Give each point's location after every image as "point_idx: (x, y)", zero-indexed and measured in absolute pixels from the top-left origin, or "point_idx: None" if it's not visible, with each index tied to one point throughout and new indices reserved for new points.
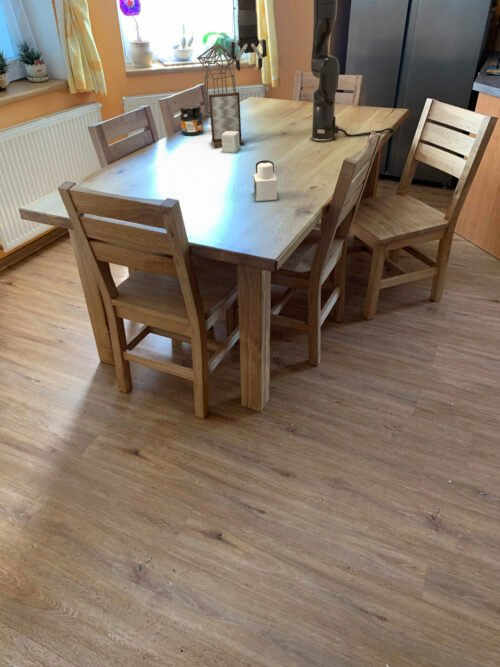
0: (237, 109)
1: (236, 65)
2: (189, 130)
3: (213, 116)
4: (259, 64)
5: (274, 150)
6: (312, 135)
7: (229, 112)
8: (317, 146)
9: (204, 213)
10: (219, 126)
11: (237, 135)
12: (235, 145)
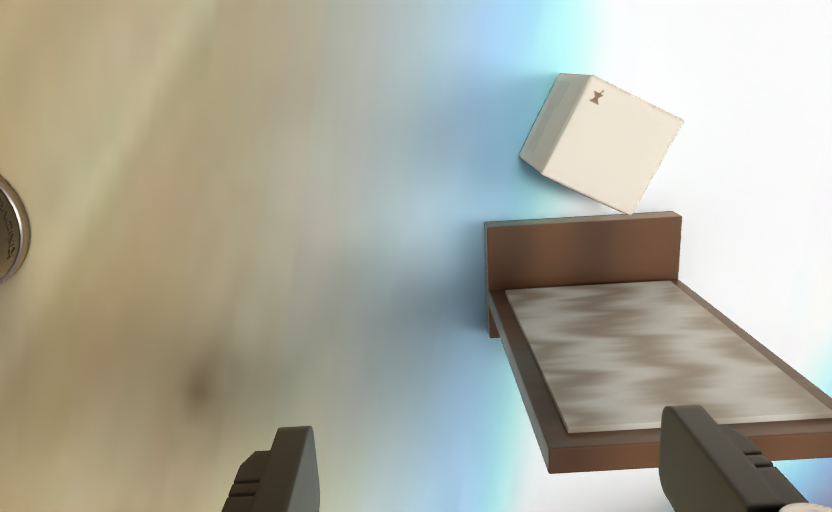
0: (544, 367)
1: (769, 463)
2: None
3: (738, 338)
4: (294, 465)
5: (302, 60)
6: (12, 227)
7: (610, 354)
8: (4, 69)
9: None
10: (662, 311)
11: (556, 130)
12: (570, 75)
